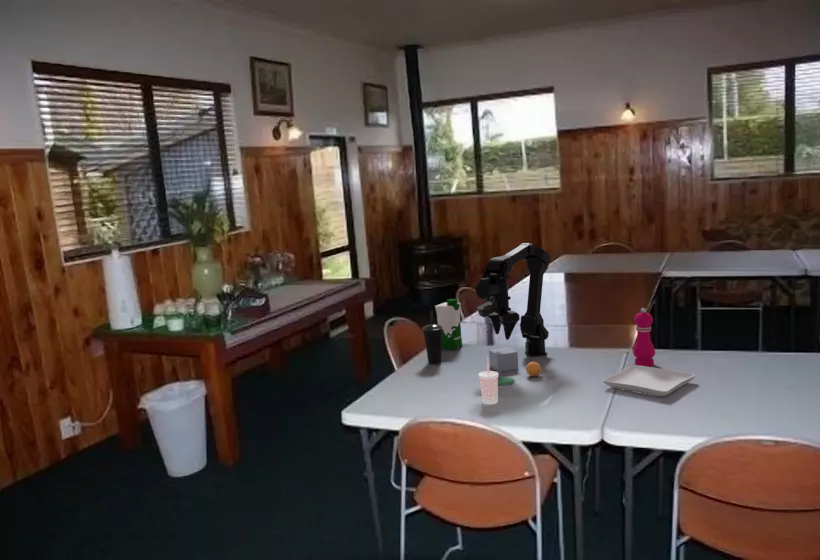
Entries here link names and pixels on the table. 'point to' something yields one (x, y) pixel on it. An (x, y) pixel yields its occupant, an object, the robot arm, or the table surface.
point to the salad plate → (648, 380)
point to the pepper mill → (643, 340)
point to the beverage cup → (489, 386)
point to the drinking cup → (433, 341)
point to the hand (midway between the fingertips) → (502, 336)
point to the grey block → (503, 359)
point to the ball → (533, 369)
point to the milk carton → (450, 323)
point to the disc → (505, 381)
